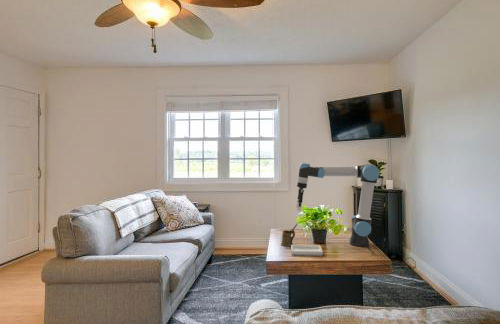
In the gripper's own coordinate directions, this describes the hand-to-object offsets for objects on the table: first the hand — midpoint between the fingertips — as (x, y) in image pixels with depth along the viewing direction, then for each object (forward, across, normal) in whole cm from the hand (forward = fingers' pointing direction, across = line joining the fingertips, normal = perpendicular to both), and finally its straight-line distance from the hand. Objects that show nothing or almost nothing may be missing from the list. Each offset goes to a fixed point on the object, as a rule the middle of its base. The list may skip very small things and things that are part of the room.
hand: (298, 209), depth 247 cm
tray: (+28, +16, +9) cm, 34 cm away
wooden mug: (+30, -2, -3) cm, 31 cm away
